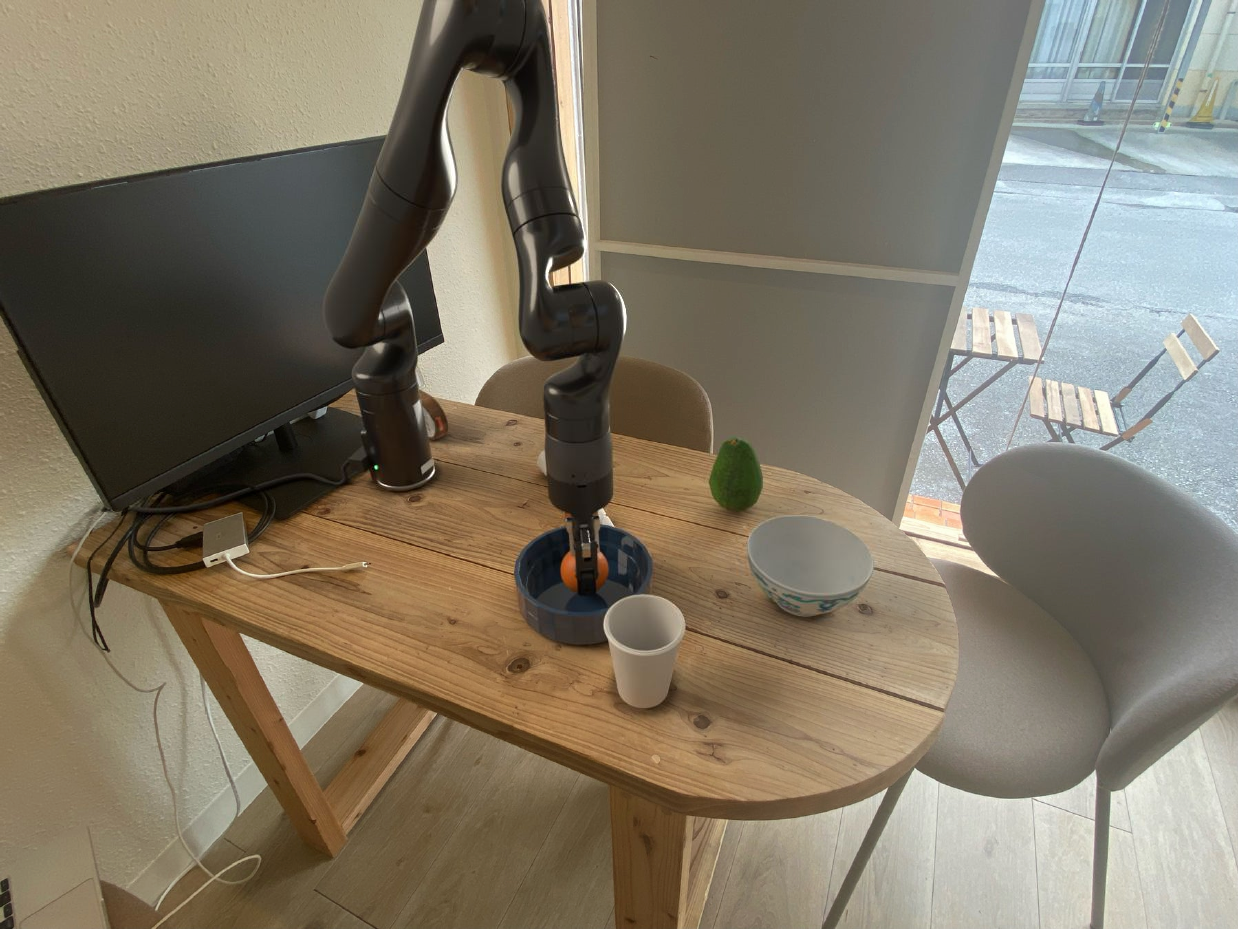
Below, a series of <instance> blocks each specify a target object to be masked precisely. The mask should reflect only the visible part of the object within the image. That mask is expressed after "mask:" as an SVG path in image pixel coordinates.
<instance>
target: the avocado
mask: <svg viewBox="0 0 1238 929" xmlns="http://www.w3.org/2000/svg"><path fill="white" fill-rule="evenodd" d="M708 485H709V488H710V493H711V496H712V498H713V500H714V501H715V502H716V503H717V504H718V505H719V506H721V507H722V508H724V509H725V510H727V511H733V512H744V511H747V510H749V509H751V508H752V507H753V506H754V505H755V504H757V503H758V500H759V498H760V495H761V494H762V490H763V489H764V474H763V471H762V467H761V464H760V461H759V458H758V456H757V453H756V451H755V448H754V446H753V445H752V443H751V442H749V441H748V440H746V439H745V438H744V437H739V436H733V437H730V438H727V440H725V441H724V442H722V444H721V446H720V448H719V451H718V452H717V455H716V458H715V460H714V463H713V465H712V467H711V473H710V474H709V480H708Z"/></svg>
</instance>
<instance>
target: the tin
mask: <svg viewBox="0 0 1238 929" xmlns="http://www.w3.org/2000/svg"><path fill="white" fill-rule="evenodd" d="M419 391H420V396H421V401H422V406H423V412H424V417H425V422H426V427H427V433H428V438H429V440H432V441H433V440H434V441H436V440H437V439H440V438H442V437H443V436H446V435H448V433H449V431H450V430H449V420H448V418H447V415H446V413H445V411H444V409H443V407H442V405H441V404H440V402H439V401H437V399H436V398H435V397H434V396H433V395H431V394H429V393H428V392H426V391H423V390H422V389H420V388H419Z"/></svg>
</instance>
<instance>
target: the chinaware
mask: <svg viewBox="0 0 1238 929" xmlns="http://www.w3.org/2000/svg"><path fill="white" fill-rule="evenodd" d="M746 554H747V561H748V564H749V567H750V572H751V573H752V576H753V578H754V580H755V582H756V583H757V585H758V587H759V588H760V589H761V591H762V592H763V593H764V594H765V595H766V596H767V597H768V598H769V599H770V600H772V601H773V603H775V604H777V605H778V606H779V607H780V608H781V609H782V610H784V611H785V612H787V613H789V614H791V615H794V616H798V617H803V618H805V617H806V618H807V617H808V618H809V617H814V616H818V615H823V614H828V613H832V612H834V611H837V610H840V609H841V608H842V609H843V608H844V607H845V606H847V605H848V604H850V603H851V602H853V601H854V600H855V599H856V598H857V597H858V596H859V595H860V594H861V593H862V592H863V591H864V589H865V588H866V586H867V585H868V583H869V581H870V580H871V578H872V576H873V572H874V570H875V560H874V556H873V553H872V551H871V549H870V548H869V546H868V545H867V544H866V542H865V541H863V539H862V538H861V537H860V536H858V535H857V534H856V533H855V532H853V531H852V530H850V529H848V528H847V527H845V526H843V525H841V524H838V523H836V522H834V521H832V520H828V519H825V518H821V517H817V516H812V515H803V514H802V515H801V514H789V515H787V514H786V515H781V516H775V517H773V518H770V519H767V520H765V521H763V522H761V523H759V524H758V525H756V526H755V527H754V528H753V529H752V531H751V532H750V534H749V536H748V538H747V541H746Z"/></svg>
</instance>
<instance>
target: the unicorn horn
mask: <svg viewBox="0 0 1238 929" xmlns="http://www.w3.org/2000/svg"><path fill="white" fill-rule="evenodd" d="M536 461H537V467H538V469H539V471H540V472H541V473H542V474H544V476H545V477H547V473H546V461H545V449H544V450H542V451H541V452H540V453H539V455H538V458H537V460H536ZM598 514H599V517H600V524H603V525H610V526H613V527H616V526H615V525H614V523H613V522H612V521H611V518H609V517H610V516H609V515H607V513H606V511H605V510H604V508H602V509H600V510H598Z"/></svg>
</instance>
